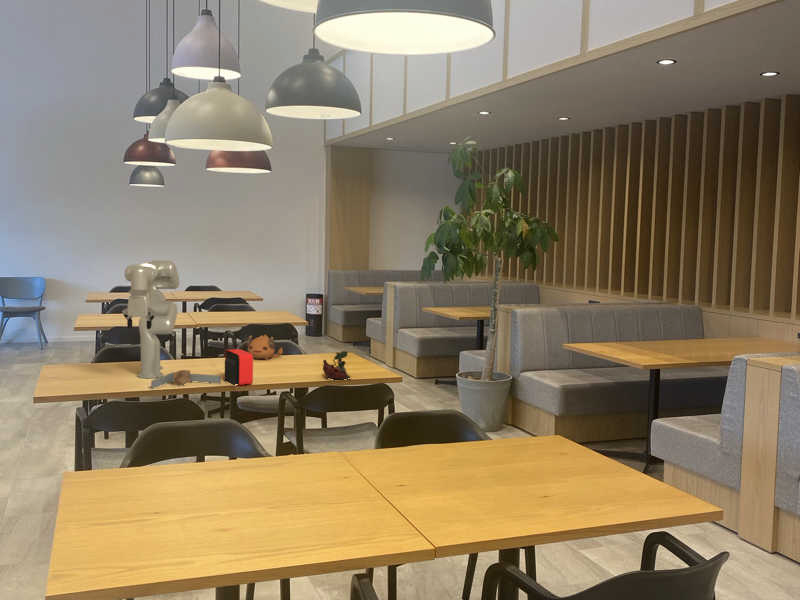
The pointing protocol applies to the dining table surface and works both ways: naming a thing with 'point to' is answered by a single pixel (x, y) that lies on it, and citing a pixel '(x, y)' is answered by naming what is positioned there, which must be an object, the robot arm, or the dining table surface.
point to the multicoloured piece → (336, 368)
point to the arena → (193, 377)
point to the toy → (262, 347)
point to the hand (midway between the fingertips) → (139, 328)
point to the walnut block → (181, 377)
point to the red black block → (238, 367)
